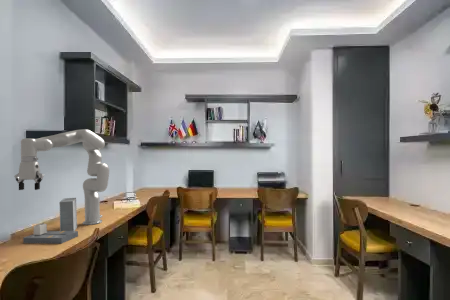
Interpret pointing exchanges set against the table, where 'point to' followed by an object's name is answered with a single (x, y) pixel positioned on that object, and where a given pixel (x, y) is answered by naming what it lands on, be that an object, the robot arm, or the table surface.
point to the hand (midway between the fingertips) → (29, 189)
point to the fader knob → (40, 229)
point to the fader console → (51, 237)
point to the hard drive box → (68, 214)
